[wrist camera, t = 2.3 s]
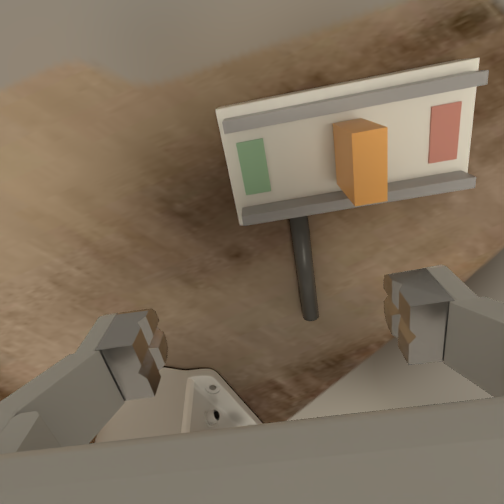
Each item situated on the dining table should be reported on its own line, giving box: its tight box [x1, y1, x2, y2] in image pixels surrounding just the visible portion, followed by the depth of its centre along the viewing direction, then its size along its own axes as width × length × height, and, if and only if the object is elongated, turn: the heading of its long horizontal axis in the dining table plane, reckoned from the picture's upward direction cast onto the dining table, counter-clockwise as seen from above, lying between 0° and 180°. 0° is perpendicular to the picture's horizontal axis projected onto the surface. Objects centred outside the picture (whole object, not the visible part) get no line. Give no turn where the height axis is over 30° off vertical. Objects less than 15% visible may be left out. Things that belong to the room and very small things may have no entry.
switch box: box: [215, 58, 489, 321], centre depth 28 cm, size 18×21×5 cm
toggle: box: [333, 118, 388, 206], centre depth 22 cm, size 2×4×5 cm, turn 10°
